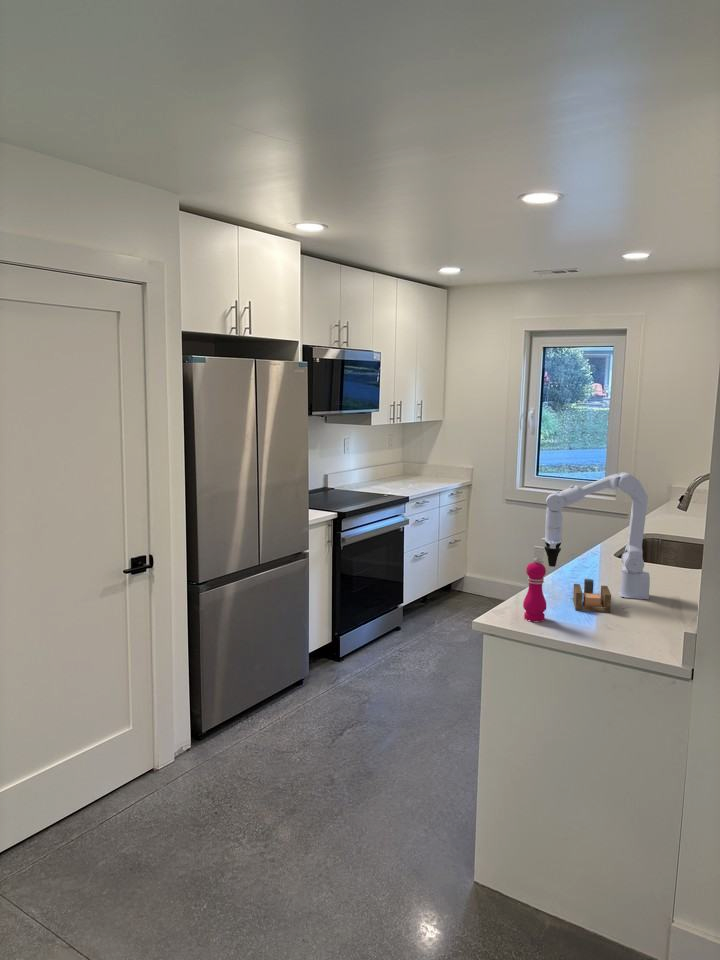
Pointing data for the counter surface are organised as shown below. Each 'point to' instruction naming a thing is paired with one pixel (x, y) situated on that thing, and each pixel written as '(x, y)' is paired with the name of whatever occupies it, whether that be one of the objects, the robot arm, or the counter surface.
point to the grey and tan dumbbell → (590, 594)
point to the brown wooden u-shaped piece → (604, 602)
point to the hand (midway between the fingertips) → (552, 563)
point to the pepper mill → (535, 592)
